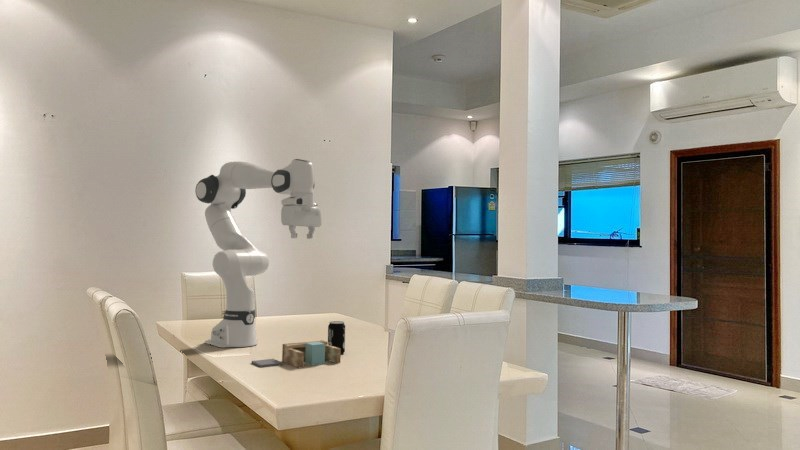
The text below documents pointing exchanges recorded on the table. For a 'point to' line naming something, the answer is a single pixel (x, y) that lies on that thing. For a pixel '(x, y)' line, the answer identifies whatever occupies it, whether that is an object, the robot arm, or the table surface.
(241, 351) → the table surface
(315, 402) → the table surface
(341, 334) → the beverage can
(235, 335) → the robot arm
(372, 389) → the table surface
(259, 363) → the pad
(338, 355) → the wooden u-shaped holder
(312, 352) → the block
